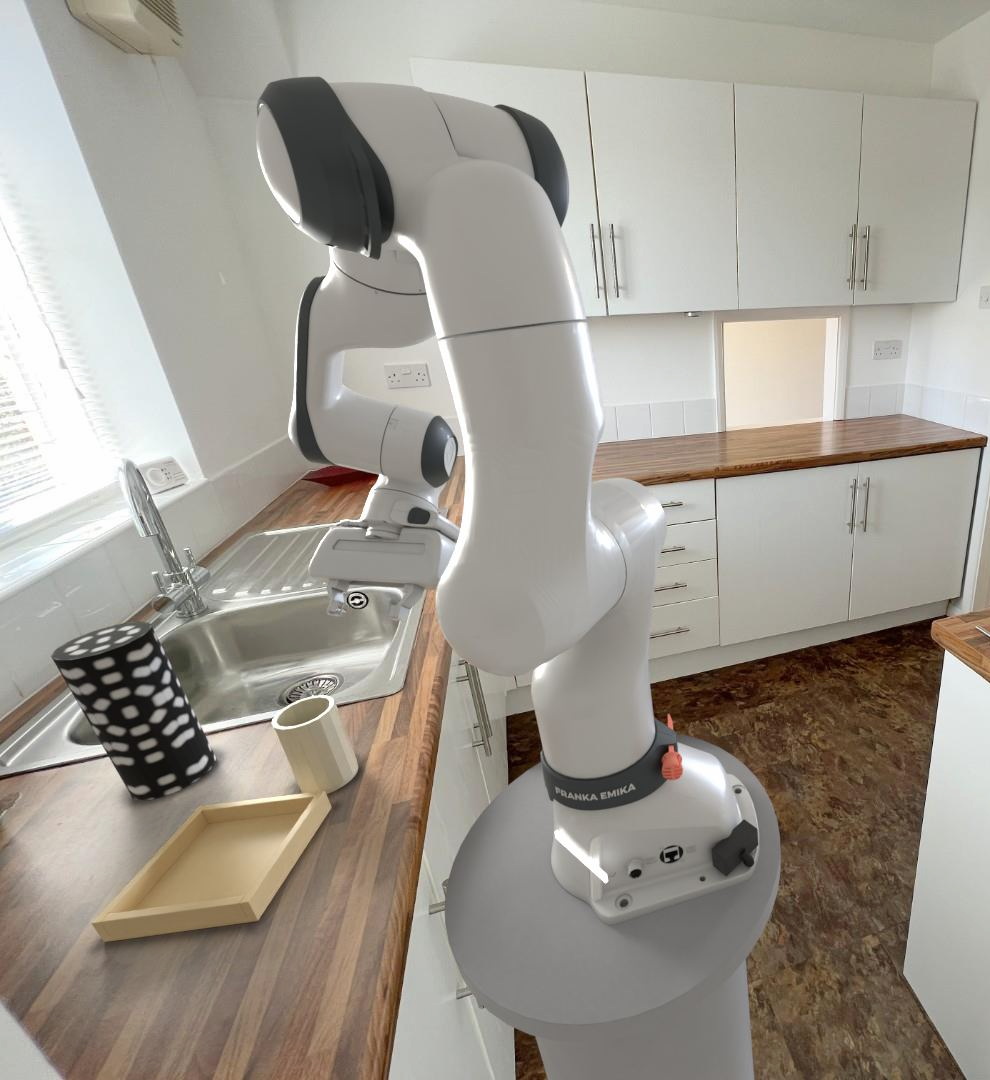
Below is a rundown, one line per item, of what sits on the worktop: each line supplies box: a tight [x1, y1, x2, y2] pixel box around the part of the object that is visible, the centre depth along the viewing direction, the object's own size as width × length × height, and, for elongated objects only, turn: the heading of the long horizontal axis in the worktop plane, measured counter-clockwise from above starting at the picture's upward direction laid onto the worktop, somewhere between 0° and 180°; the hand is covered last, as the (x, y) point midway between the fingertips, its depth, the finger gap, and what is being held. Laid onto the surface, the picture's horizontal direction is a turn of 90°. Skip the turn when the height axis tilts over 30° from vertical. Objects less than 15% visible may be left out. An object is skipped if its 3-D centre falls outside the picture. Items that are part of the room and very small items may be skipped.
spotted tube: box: [50, 621, 217, 801], centre depth 71 cm, size 8×8×20 cm
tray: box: [91, 791, 332, 943], centre depth 60 cm, size 14×14×3 cm
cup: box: [271, 694, 359, 795], centre depth 70 cm, size 6×6×10 cm
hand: (365, 617), depth 77 cm, fingers open, 8 cm apart
